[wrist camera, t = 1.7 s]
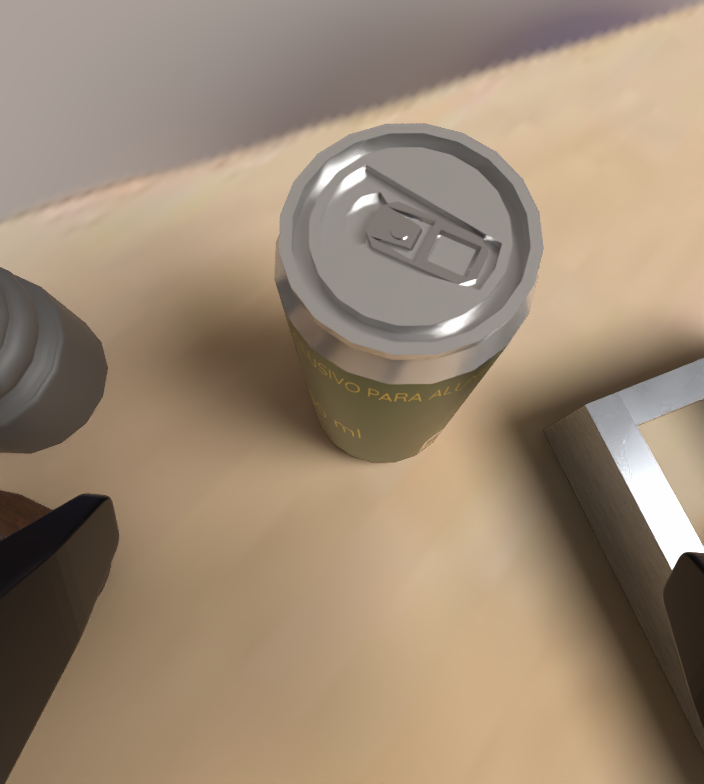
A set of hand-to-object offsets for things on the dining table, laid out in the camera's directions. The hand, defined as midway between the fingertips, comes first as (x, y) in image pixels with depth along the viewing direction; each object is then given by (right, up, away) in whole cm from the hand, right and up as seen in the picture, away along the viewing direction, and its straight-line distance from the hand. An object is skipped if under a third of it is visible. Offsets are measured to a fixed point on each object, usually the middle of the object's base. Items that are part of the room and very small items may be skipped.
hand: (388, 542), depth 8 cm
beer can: (+1, +2, +13) cm, 13 cm away
